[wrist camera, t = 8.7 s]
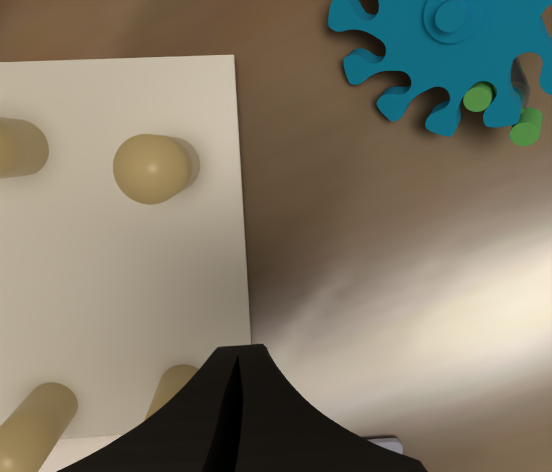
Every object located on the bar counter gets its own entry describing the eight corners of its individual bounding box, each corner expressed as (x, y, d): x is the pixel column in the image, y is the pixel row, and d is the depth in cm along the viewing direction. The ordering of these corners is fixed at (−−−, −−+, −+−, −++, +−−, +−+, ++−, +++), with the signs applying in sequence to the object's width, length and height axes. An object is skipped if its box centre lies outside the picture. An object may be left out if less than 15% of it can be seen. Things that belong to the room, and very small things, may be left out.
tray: (255, 412, 23) (256, 495, 17) (-129, 440, 22) (-253, 536, 16) (234, 59, 19) (227, 24, 13) (-232, 75, 18) (-439, 44, 13)
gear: (276, -30, 17) (570, -309, 10) (334, -59, 20) (579, -277, 13) (402, 189, 20) (682, 107, 13) (433, 131, 24) (666, 42, 17)
